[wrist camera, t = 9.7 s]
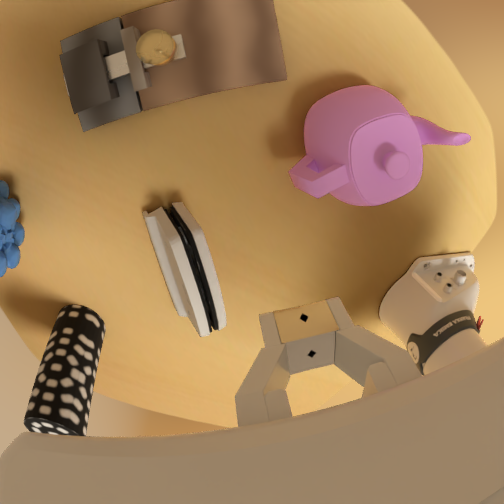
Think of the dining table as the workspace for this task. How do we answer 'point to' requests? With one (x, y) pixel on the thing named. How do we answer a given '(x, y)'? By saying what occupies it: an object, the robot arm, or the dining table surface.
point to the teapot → (365, 147)
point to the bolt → (147, 53)
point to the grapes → (9, 230)
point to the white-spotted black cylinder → (67, 374)
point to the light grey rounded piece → (187, 267)
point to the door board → (177, 72)
